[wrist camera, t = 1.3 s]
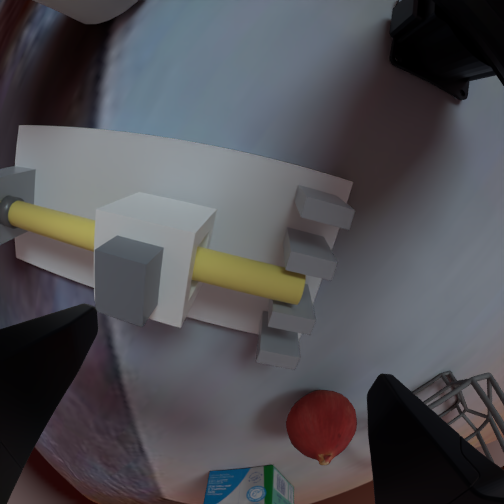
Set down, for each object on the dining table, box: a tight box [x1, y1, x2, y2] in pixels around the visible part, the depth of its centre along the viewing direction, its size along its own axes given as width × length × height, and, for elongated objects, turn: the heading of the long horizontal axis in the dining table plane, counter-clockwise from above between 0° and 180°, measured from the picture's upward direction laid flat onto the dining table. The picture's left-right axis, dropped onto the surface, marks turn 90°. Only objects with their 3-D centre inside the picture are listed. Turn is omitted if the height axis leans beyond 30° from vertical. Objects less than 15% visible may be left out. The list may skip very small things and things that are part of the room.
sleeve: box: [94, 192, 217, 328], centre depth 14 cm, size 5×5×7 cm
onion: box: [286, 390, 357, 465], centre depth 20 cm, size 6×6×8 cm
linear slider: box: [0, 125, 355, 370], centre depth 17 cm, size 26×12×6 cm, turn 77°
